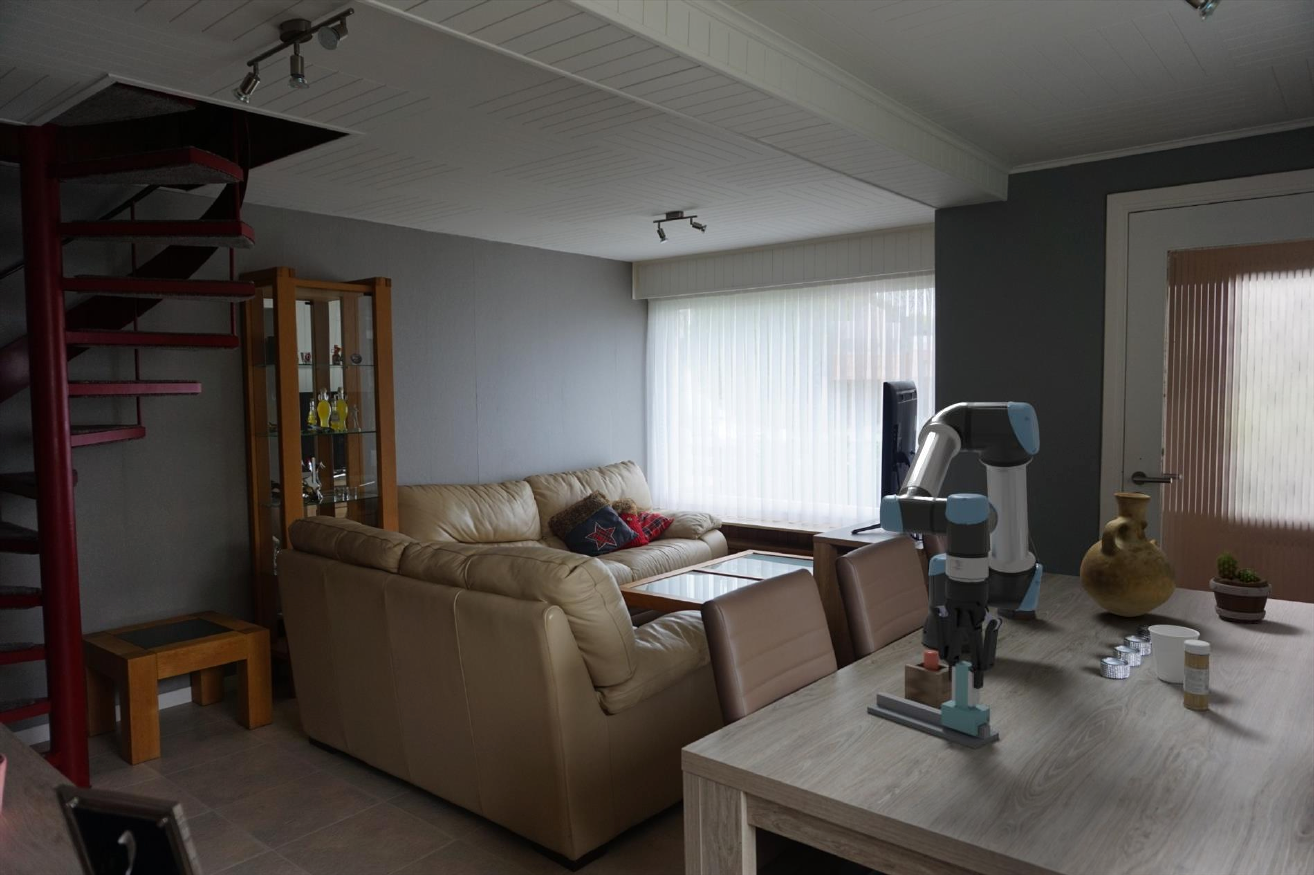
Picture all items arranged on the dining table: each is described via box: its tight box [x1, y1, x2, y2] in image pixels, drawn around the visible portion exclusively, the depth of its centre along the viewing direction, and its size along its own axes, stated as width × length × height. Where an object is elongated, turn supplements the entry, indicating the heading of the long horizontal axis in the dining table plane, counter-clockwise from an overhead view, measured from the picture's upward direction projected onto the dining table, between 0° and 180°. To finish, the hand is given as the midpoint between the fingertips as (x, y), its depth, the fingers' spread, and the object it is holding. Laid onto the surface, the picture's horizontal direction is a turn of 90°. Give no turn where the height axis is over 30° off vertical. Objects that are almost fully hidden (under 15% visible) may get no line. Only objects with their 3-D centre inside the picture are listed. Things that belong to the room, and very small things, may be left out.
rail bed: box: [866, 691, 1000, 750], centre depth 169 cm, size 24×8×3 cm, turn 39°
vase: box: [1079, 492, 1177, 618], centre depth 248 cm, size 24×24×35 cm
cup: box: [1147, 624, 1201, 684], centre depth 194 cm, size 10×10×11 cm
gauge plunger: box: [923, 649, 940, 671], centre depth 182 cm, size 3×3×4 cm
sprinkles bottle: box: [1182, 639, 1211, 711], centre depth 177 cm, size 5×5×14 cm
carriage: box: [940, 660, 991, 736], centre depth 163 cm, size 7×5×12 cm
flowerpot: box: [1209, 549, 1273, 624], centre depth 243 cm, size 14×15×20 cm
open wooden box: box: [904, 658, 952, 709], centre depth 183 cm, size 8×7×7 cm
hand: (965, 701), depth 163 cm, fingers closed on carriage, 3 cm apart
